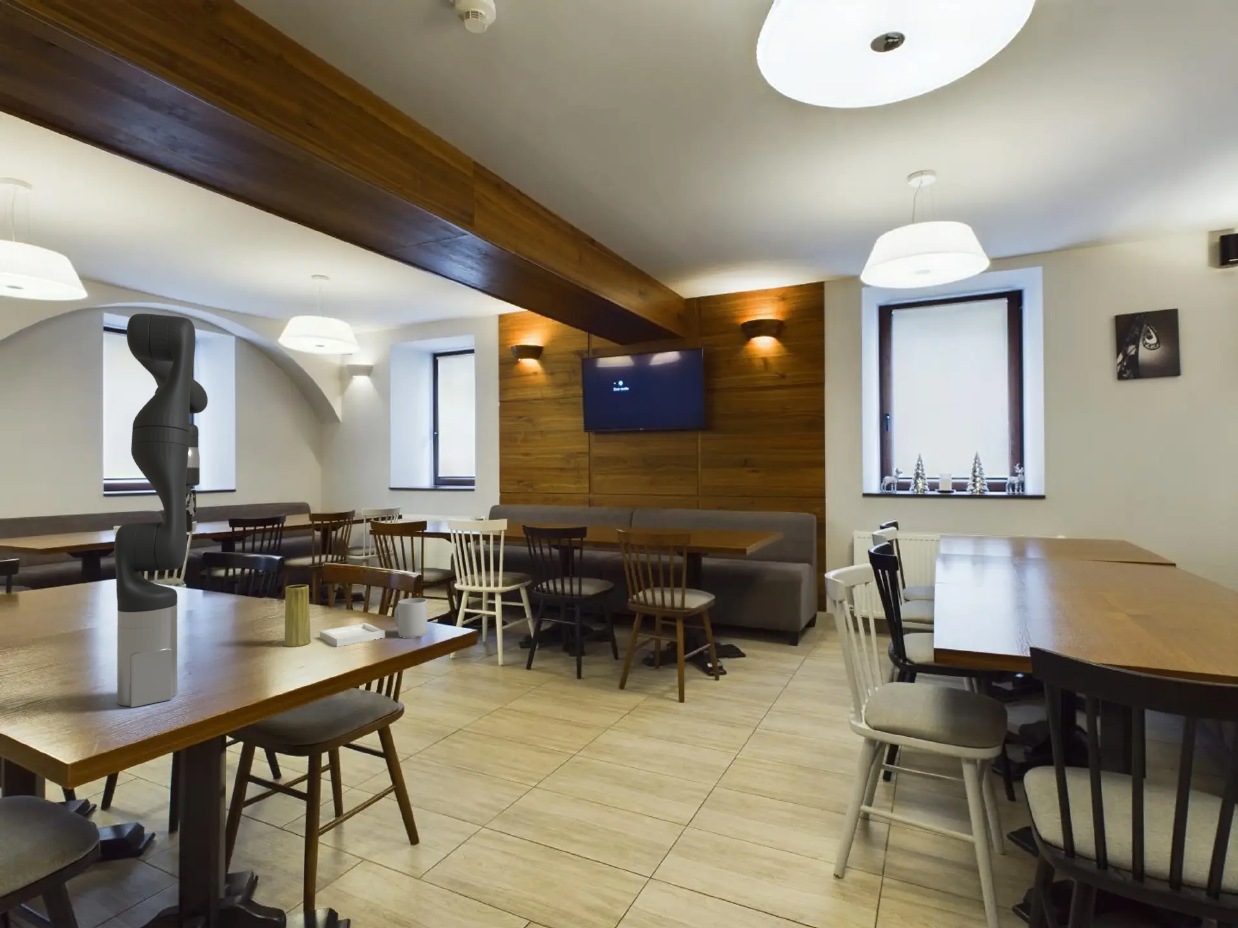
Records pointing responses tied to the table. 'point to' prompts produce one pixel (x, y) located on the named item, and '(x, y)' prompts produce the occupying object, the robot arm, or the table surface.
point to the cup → (411, 617)
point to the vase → (297, 616)
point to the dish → (351, 634)
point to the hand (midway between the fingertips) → (181, 533)
